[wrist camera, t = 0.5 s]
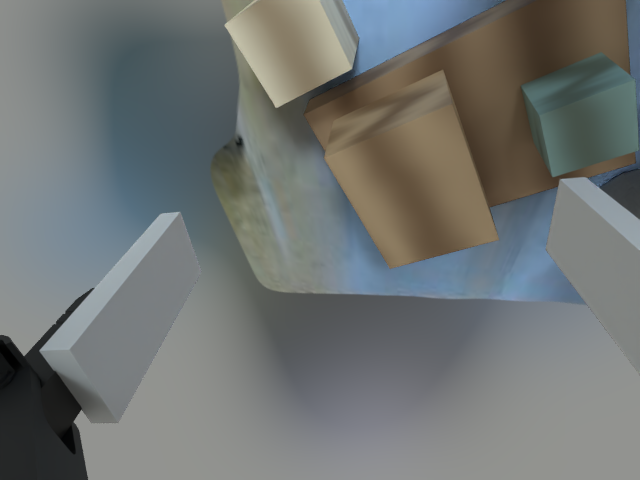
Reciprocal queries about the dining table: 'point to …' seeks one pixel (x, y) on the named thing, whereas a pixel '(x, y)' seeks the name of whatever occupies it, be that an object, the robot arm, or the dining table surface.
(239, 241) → the dining table surface
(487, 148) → the base
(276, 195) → the dining table surface
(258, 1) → the oak block
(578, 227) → the robot arm
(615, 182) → the coffeepot
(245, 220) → the dining table surface
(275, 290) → the dining table surface
